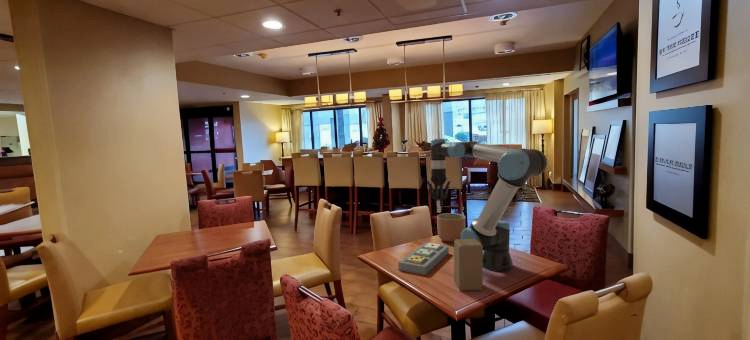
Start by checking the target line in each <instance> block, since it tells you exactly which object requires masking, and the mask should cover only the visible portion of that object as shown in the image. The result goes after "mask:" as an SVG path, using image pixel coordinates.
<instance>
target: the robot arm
mask: <svg viewBox="0 0 750 340" xmlns="http://www.w3.org/2000/svg"><path fill="white" fill-rule="evenodd" d="M461 157H472V158H477V159H481V160H485V161H491V162H495V163H497V169H498V170H497V171H498V172H497V177H498V178H499V179H498V180H497V182H496V184H495V186H494V188H493V190H492V191H491V193H490V195H489V196H488V199H487V201H486V203H484V206H483V208H482V209H481V212H480V214H479V216H478V218H477V217H476V218H474V219H473V220H472V222H471V223H470V225H469V226H468V227H465V229H464V230H463V231H462V233H461V239H476V240H477V241H478V242H479V243H480V244H482V246H483V269H486V270H489V271H493V272H508V271H511V270H512V269H513V267H514V265H513V264H514V263H513V259H512V256H511V253H510V235H511V234H510V233H511V232H510V231H511V229H510V228H511V227H510V223H509V222H508V221H506V220H502V217H503V216H504V213H505V211H506V210H507V208H508V206H509V204H510V203H511V202H512V200H513V198H514V196H515V195H516V193H517V191H518V189H520V188H524V186H526V184H527V181H528V180H529V178H532V177H533V178H535V177H538V176H540V175H541V174H543V172H545V171H546V170H547V169H546V168H547V166H548V158H547V156H546V154H544V152H542V151H541V150H539V149H535V148H534V149H533V148H531V149H529V148H522V149H516V148H509V147H505V146H497V145H491V144H486V143H480V142H479V141H475V140H472V141H457V142H453V141H452V142H446V139H445V138H432V139H431V140H430V160H431V161H430V163H431V164H430V165H431V171H430V172H431V173H430V174H431V175H430V179H429V180H428V181H426V184H427V186H428V189H429V193H430V197H431V200H434V203H435V206H436V213H439V214H441V212H442V207H444V200H446V199H447V198H448V197H447V196H448V193H449V188H450V185H451V183H452V181H451V180H448V178H447V169H446V165H447V164H446V161H447V160H446V159H447V158H452V159H455V158H456V159H457V158H461ZM444 184H445V188H444Z"/></svg>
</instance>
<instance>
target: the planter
mask: <svg viewBox="0 0 750 340" xmlns="http://www.w3.org/2000/svg"><path fill="white" fill-rule="evenodd" d="M436 225H437V235H438V237H439V239H441V241H443V242H445V243H448V244H449V243H451V244H454V241H455V240H456V239H461V233H462V231H463V230H464V229H465V228H466V215H464V214H461V213H454V212H451V213H448V212H446V213H439V214H437V216H436Z"/></svg>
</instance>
